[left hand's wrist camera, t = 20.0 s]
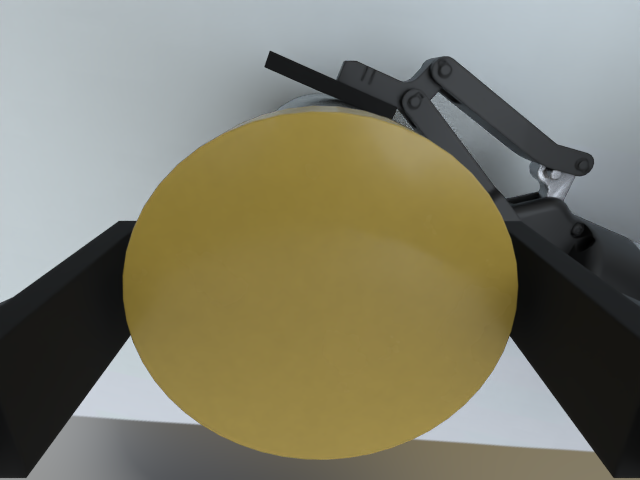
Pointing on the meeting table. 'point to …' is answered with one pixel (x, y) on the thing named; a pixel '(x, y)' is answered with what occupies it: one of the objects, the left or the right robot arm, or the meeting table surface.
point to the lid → (320, 284)
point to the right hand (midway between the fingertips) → (239, 150)
